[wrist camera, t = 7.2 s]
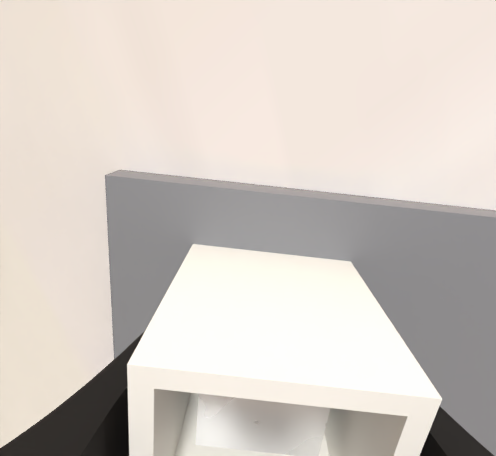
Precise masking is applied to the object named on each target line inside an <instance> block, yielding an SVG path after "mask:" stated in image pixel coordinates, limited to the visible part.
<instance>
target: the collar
mask: <svg viewBox="0 0 496 456" xmlns="http://www.w3.org/2000/svg"><path fill="white" fill-rule="evenodd" d="M127 382H128V424H129V456H294V455H284V454H275V453H266V452H256V451H247V450H238V449H228V448H219V447H210V446H200V445H195V443H196V428H197V413H198V397H199V394H208V395H217V396H226V397H235V398H244V399H253V400H262V401H271V402H280V403H290V404H299V405H308V406H317V407H326V408H330V412H329V416H328V420H327V424H326V428H325V432H324V436H323V440H322V444H321V447H320V451H319V455H318V456H420V453H421V451H422V448H423V446H424V443H425V441H426V438H427V436H428V433H429V431H430V429H431V426H432V424H433V421H434V419H435V416H436V414H437V411H438V409H439V406H440V404H441V401H442V398H441V396H440V395H439V393H438V392H437V390H436V389H435V387H434V386H433V384H432V383H431V381H430V380H429V378H428V377H427V375H426V374H425V372H424V371H423V369H422V368H421V366H420V365H419V363H418V362H417V360H416V359H415V357H414V356H413V354H412V353H411V351H410V350H409V348H408V347H407V345H406V344H405V342H404V341H403V339H402V338H401V336H400V335H399V333H398V332H397V330H396V329H395V327H394V326H393V324H392V323H391V321H390V320H389V318H388V317H387V315H386V314H385V312H384V311H383V309H382V308H381V306H380V305H379V303H378V302H377V300H376V299H375V297H374V296H373V294H372V293H371V291H370V290H369V288H368V287H367V285H366V284H365V282H364V281H363V279H362V278H361V276H360V275H359V273H358V272H357V270H356V269H355V267H354V266H353V264H352V263H351V261H342V260H333V259H324V258H315V257H306V256H297V255H288V254H279V253H270V252H261V251H252V250H243V249H234V248H225V247H216V246H207V245H198V244H193V245H192V246H191V248H190V250H189V252H188V254H187V256H186V257H185V259H184V261H183V263H182V265H181V267H180V268H179V270H178V272H177V274H176V276H175V278H174V279H173V281H172V283H171V285H170V287H169V289H168V290H167V292H166V294H165V296H164V298H163V300H162V301H161V303H160V305H159V307H158V309H157V311H156V312H155V314H154V316H153V318H152V320H151V321H150V323H149V325H148V327H147V329H146V331H145V332H144V334H143V336H142V338H141V340H140V342H139V343H138V345H137V347H136V349H135V351H134V353H133V354H132V356H131V358H130V360H129V362H128V364H127Z"/></svg>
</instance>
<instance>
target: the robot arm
mask: <svg viewBox="0 0 496 456" xmlns="http://www.w3.org/2000/svg"><path fill="white" fill-rule="evenodd" d="M143 334H144V332H143V333H142V334H141V335H140V336H139V337H138V338H137V339H136V340H135V341H133V342H132V343H131V344H130V345H129V346H128V347H127V348H126V349H125V350H124V351H123V352H122V353H121V354H120V355H119V356H117V357H116V358H115V359H114V360H113V361H112V362H111V363H110V364H109V365H108V366H106V367H105V368H104V369H103V370H102V371H101V372H100V373H98V374H97V375H96V376H95V377H94V378H93V379H92V380H91V381H89V382H88V383H87V384H86V385H85V386H83V387H82V388H81V389H80V390H78V391H77V392H76V393H75V394H73V395H72V396H71V397H70V398H69V399H67V400H66V401H65V402H64V403H62V404H61V405H60V406H59V407H57V408H56V409H55V410H53V411H52V412H51V413H49V414H48V415H47V416H46V417H44V418H43V419H41V420H40V421H39V422H37V423H36V424H35V425H33V426H32V427H30V428H29V429H28V430H26V431H25V432H23V433H22V434H21V435H19V436H18V437H16V438H15V439H14V440H12V441H11V442H9V443H8V444H6V445H5V446H3V447H2V448H0V456H129V424H128V382H127V364H128V362H129V360H130V358H131V356H132V354H133V353H134V351H135V349H136V347H137V345H138V343H139V342H140V340H141V338H142V336H143ZM420 456H494V455H493V454H492V453H491V452H489V451H488V450H487V449H486V448H485V447H484V446H483V445H482V444H480V443H479V442H478V441H477V440H476V439H475V438H474V437H472V436H471V435H470V434H469V433H468V432H467V431H466V430H465V429H464V428H463V427H462V426H460V425H459V424H458V423H457V422H456V421H455V420H454V419H453V418H452V417H451V416H450V415H449V414H448V413H447V412H446V411H444V410H443V409H442V408H441V407H440V406H439V409H438V411H437V414H436V416H435V419H434V421H433V424H432V426H431V429H430V431H429V433H428V436H427V438H426V441H425V443H424V446H423V448H422V451H421V453H420Z"/></svg>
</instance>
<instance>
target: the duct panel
mask: <svg viewBox="0 0 496 456" xmlns="http://www.w3.org/2000/svg"><path fill="white" fill-rule="evenodd" d="M105 184H106V204H107V224H108V244H109V264H110V284H111V304H112V325H113V345H114V359H115V358H116V357H117V356H119V355H120V354H121V353H122V352H123V351H124V350H125V349H126V348H127V347H128V346H129V345H130V344H131V343H132V342H133V341H135V340H136V339H137V338H138V337H139V336H140V335H141V334H142V333H143V332H145V331H146V329H147V327H148V325H149V323H150V321H151V320H152V318H153V316H154V314H155V312H156V311H157V309H158V307H159V305H160V303H161V301H162V300H163V298H164V296H165V294H166V292H167V290H168V289H169V287H170V285H171V283H172V281H173V279H174V278H175V276H176V274H177V272H178V270H179V268H180V267H181V265H182V263H183V261H184V259H185V257H186V256H187V254H188V252H189V250H190V248H191V246H192V245H193V244H198V245H207V246H216V247H225V248H234V249H243V250H252V251H261V252H270V253H279V254H288V255H297V256H306V257H315V258H324V259H333V260H342V261H351V263H352V264H353V266H354V267H355V269H356V270H357V272H358V273H359V275H360V276H361V278H362V279H363V281H364V282H365V284H366V285H367V287H368V288H369V290H370V291H371V293H372V294H373V296H374V297H375V299H376V300H377V302H378V303H379V305H380V306H381V308H382V309H383V311H384V312H385V314H386V315H387V317H388V318H389V320H390V321H391V323H392V324H393V326H394V327H395V329H396V330H397V332H398V333H399V335H400V336H401V338H402V339H403V341H404V342H405V344H406V345H407V347H408V348H409V350H410V351H411V353H412V354H413V356H414V357H415V359H416V360H417V362H418V363H419V365H420V366H421V368H422V369H423V371H424V372H425V374H426V375H427V377H428V378H429V380H430V381H431V383H432V384H433V386H434V387H435V389H436V390H437V392H438V393H439V395H440V396H441V398H442V401H441V404H440V407H441V408H442V409H443V410H444V411H446V412H447V413H448V414H449V415H450V416H451V417H452V418H453V419H454V420H455V421H456V422H457V423H458V424H459V425H460V426H462V427H463V428H464V429H465V430H466V431H467V432H468V433H469V434H470V435H471V436H472V437H474V438H475V439H476V440H477V441H478V442H479V443H480V444H482V445H483V446H484V447H485V448H486V449H487V450H488V451H489V452H491V453H492V454H493V455H494V456H496V211H494V210H485V209H476V208H467V207H457V206H448V205H439V204H430V203H420V202H411V201H402V200H393V199H384V198H374V197H365V196H356V195H347V194H337V193H328V192H319V191H310V190H300V189H291V188H282V187H273V186H264V185H254V184H245V183H236V182H227V181H217V180H208V179H199V178H190V177H181V176H171V175H162V174H153V173H144V172H134V171H125V170H118V171H115V172H113V173H110V174H107V175H105Z"/></svg>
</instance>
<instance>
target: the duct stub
mask: <svg viewBox="0 0 496 456" xmlns="http://www.w3.org/2000/svg"><path fill="white" fill-rule="evenodd" d="M329 412H330V408H326V407H317V406H308V405H299V404H290V403H280V402H271V401H262V400H253V399H244V398H235V397H226V396H217V395H208V394H199V397H198V413H197V428H196V443H195V445H200V446H210V447H219V448H228V449H238V450H247V451H256V452H266V453H275V454H284V455H294V456H318V455H319V451H320V447H321V444H322V440H323V436H324V432H325V428H326V424H327V420H328V416H329Z"/></svg>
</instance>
